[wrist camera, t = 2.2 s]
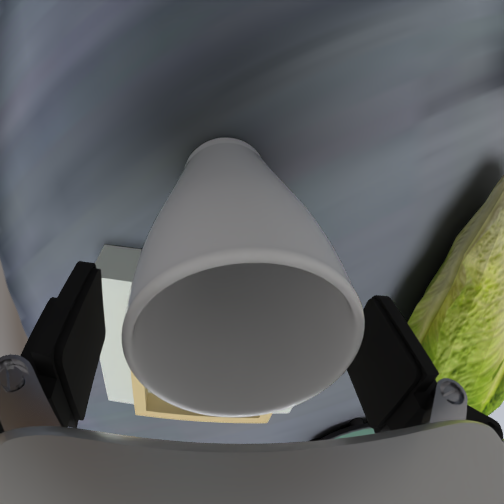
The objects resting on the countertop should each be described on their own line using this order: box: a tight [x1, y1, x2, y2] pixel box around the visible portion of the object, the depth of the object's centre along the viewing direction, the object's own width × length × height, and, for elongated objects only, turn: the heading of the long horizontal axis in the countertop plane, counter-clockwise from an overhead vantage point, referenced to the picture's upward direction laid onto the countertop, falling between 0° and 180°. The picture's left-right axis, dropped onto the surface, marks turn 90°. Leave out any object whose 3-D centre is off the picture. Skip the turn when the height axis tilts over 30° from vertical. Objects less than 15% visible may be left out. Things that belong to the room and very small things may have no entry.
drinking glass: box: [121, 137, 365, 417], centre depth 15 cm, size 7×7×15 cm
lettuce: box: [408, 175, 504, 416], centre depth 23 cm, size 15×24×14 cm, turn 173°
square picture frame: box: [95, 245, 292, 423], centre depth 26 cm, size 15×19×6 cm
